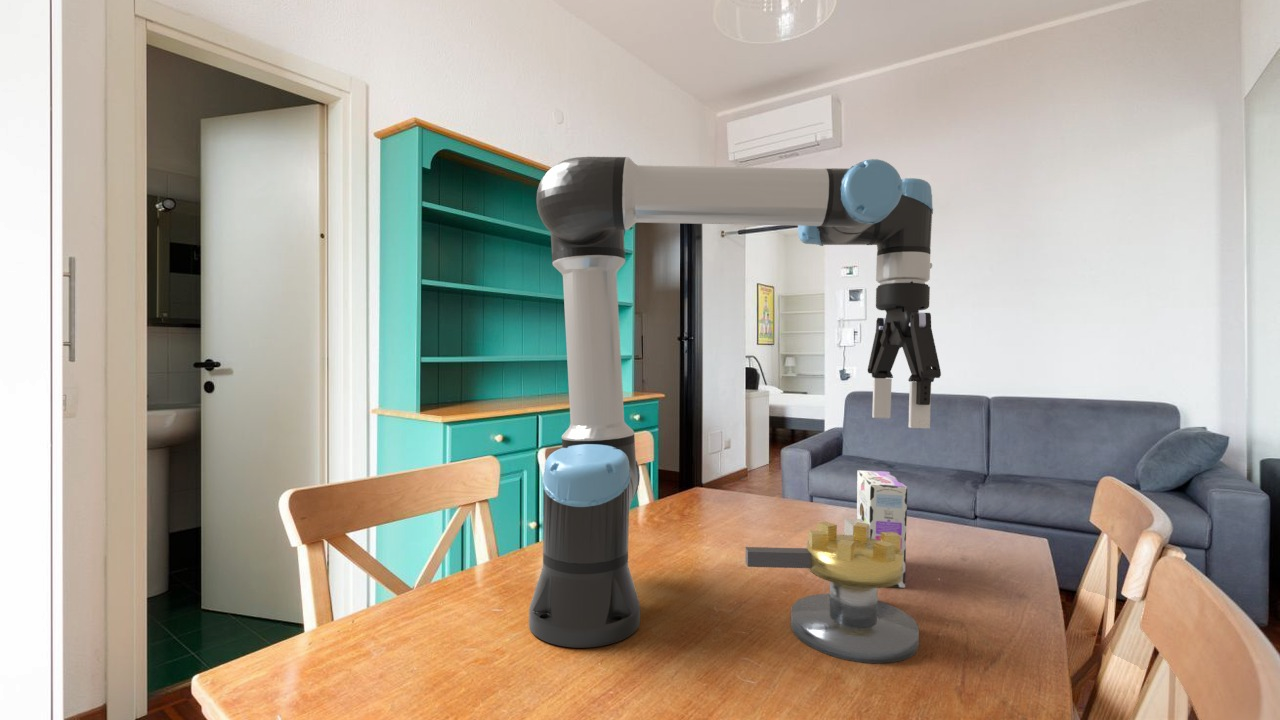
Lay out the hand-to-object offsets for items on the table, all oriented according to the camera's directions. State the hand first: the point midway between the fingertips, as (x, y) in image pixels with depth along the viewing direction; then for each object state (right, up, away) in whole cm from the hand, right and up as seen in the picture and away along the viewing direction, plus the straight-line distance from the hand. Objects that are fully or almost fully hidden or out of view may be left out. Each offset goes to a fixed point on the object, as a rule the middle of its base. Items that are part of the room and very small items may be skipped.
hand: (898, 422), depth 91 cm
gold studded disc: (-15, -18, -12) cm, 27 cm away
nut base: (-11, -27, -10) cm, 31 cm away
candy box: (+1, -27, +11) cm, 29 cm away
